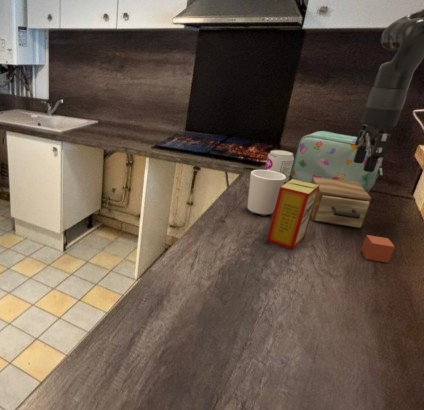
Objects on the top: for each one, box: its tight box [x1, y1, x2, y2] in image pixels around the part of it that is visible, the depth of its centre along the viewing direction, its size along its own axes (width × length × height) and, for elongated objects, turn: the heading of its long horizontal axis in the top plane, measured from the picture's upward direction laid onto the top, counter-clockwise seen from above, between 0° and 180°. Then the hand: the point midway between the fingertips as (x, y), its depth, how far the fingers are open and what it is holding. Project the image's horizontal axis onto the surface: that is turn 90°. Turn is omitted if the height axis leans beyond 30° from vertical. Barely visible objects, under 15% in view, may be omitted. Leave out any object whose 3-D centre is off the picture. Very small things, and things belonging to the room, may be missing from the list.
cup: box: [247, 169, 286, 217], centre depth 112 cm, size 10×10×13 cm
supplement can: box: [264, 149, 295, 184], centre depth 128 cm, size 8×8×15 cm
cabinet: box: [310, 177, 372, 229], centre depth 112 cm, size 15×13×10 cm
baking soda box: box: [266, 178, 320, 250], centre depth 95 cm, size 10×6×16 cm
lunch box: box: [291, 130, 385, 194], centre depth 130 cm, size 27×10×21 cm, turn 34°
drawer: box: [315, 194, 371, 228], centre depth 108 cm, size 18×11×8 cm, turn 158°
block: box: [360, 234, 396, 264], centre depth 90 cm, size 5×5×5 cm
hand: (362, 166), depth 98 cm, fingers open, 8 cm apart
